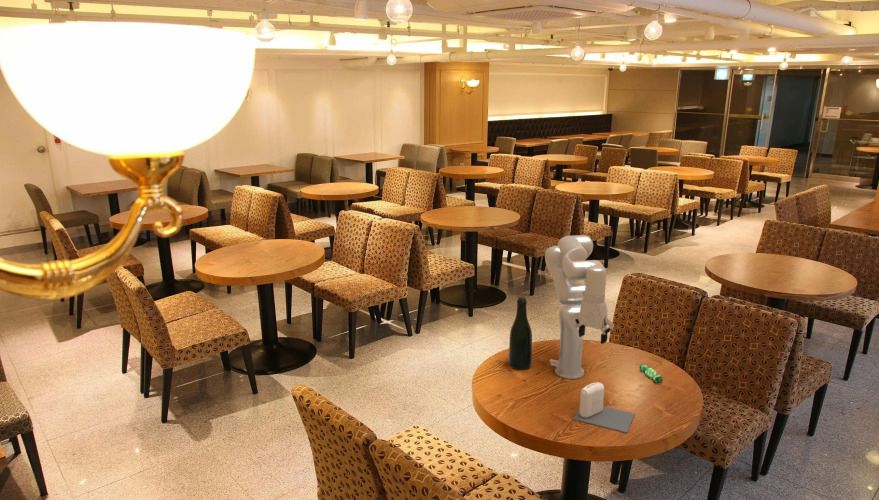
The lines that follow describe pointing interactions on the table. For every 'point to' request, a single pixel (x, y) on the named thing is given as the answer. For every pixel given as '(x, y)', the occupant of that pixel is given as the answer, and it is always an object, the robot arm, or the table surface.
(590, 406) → the photo printer
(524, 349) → the dark green wine bottle
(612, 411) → the rubber mat
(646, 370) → the candy
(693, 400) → the table surface
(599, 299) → the robot arm
